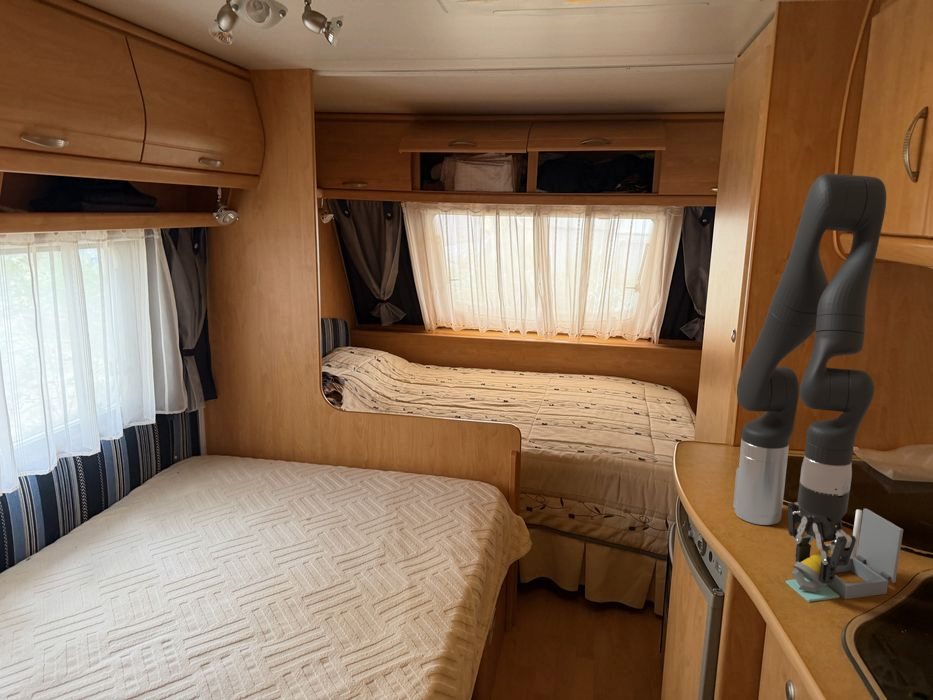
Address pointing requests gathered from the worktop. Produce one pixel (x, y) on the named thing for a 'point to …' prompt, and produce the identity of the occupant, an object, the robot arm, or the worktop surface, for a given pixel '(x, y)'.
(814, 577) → the drill bit
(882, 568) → the case
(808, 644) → the worktop surface
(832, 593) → the mat
